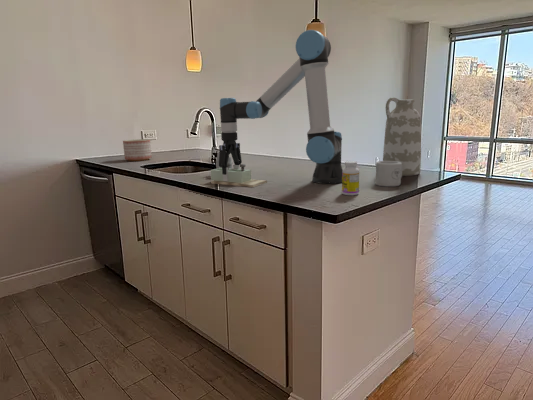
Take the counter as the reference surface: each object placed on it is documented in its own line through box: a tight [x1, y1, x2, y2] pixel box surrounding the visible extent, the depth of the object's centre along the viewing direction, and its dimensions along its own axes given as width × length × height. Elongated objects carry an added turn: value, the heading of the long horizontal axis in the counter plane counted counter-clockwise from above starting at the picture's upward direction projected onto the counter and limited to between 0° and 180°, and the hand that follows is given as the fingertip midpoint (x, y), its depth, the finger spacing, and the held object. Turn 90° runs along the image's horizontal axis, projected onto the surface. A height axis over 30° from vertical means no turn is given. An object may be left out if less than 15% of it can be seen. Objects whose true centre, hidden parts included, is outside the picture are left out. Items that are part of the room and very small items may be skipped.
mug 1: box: [215, 152, 234, 169], centre depth 210 cm, size 8×12×12 cm, turn 44°
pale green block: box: [210, 168, 252, 183], centre depth 189 cm, size 18×8×5 cm, turn 59°
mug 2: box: [374, 160, 403, 188], centre depth 173 cm, size 14×11×10 cm
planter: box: [122, 138, 152, 162], centre depth 292 cm, size 19×19×15 cm
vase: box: [382, 96, 422, 177], centre depth 198 cm, size 20×19×38 cm
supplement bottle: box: [341, 160, 360, 196], centre depth 155 cm, size 7×7×13 cm
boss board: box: [210, 163, 268, 188], centre depth 186 cm, size 24×12×9 cm, turn 59°
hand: (231, 179), depth 189 cm, fingers closed on pale green block, 8 cm apart
